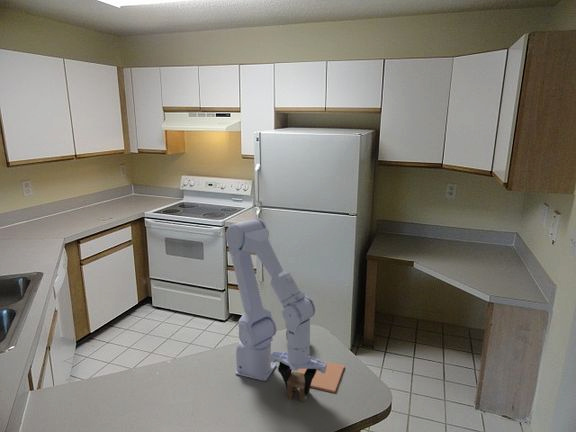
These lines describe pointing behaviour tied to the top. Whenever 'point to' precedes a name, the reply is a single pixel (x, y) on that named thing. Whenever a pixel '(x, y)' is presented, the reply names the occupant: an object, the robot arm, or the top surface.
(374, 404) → the top surface
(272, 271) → the robot arm
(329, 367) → the mat
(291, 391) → the notched brown block
